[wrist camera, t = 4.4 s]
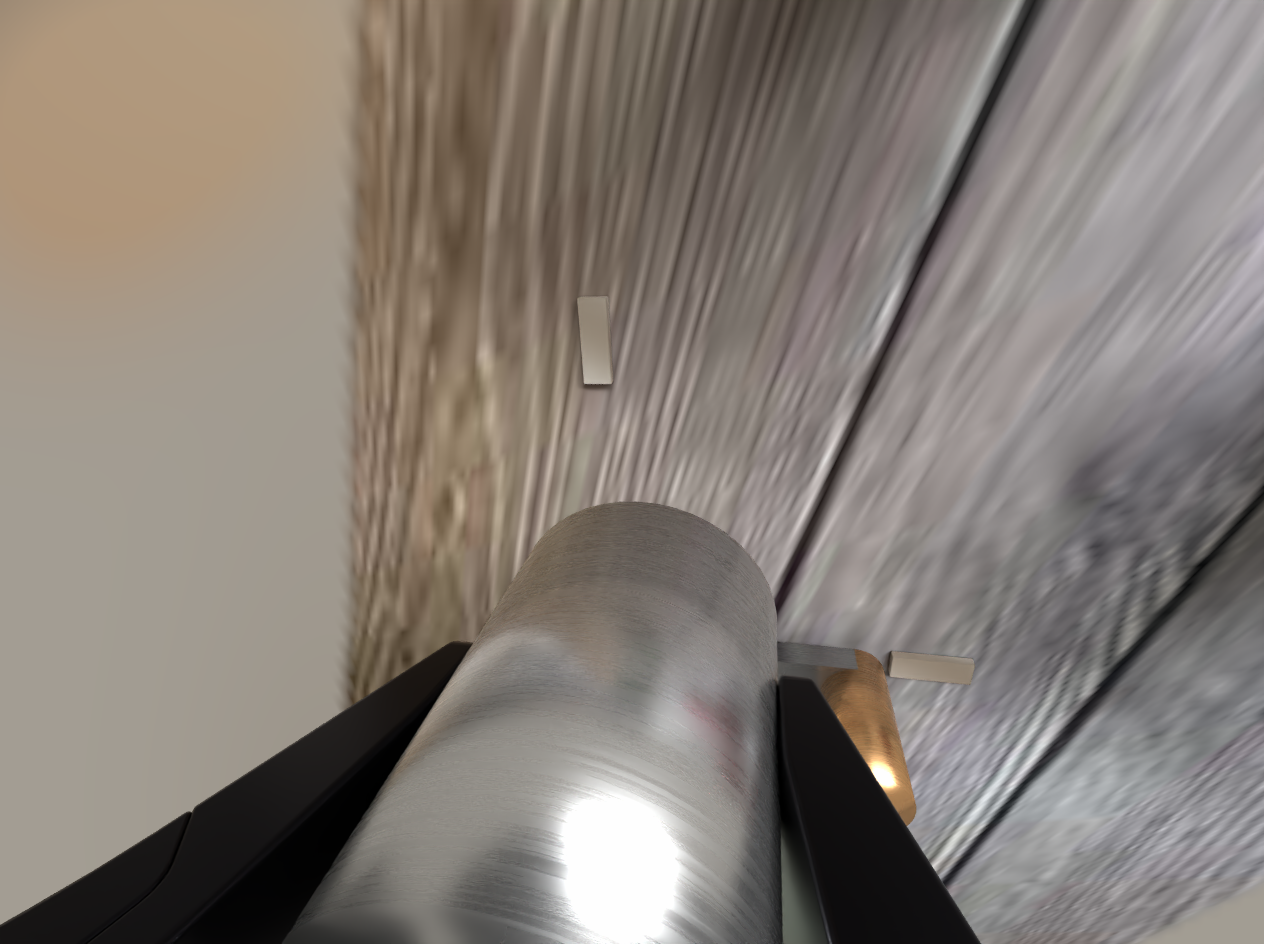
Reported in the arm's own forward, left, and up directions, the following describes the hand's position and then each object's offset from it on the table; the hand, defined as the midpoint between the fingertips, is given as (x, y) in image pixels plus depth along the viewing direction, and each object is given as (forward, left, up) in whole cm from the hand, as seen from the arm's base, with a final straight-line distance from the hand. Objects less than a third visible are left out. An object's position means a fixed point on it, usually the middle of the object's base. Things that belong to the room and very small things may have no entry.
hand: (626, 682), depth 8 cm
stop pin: (0, 0, -1) cm, 1 cm away
